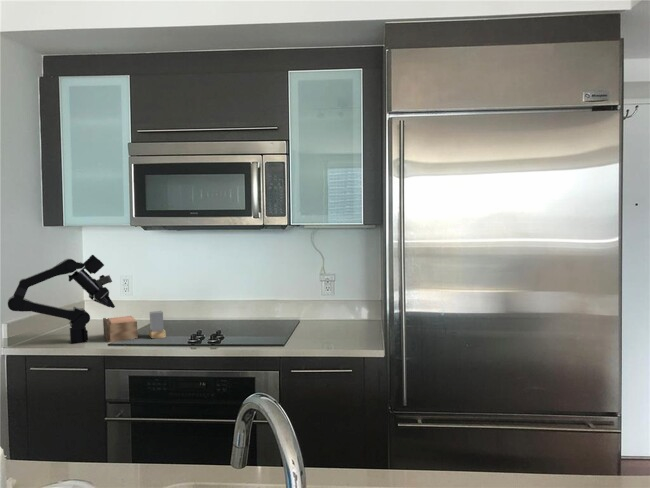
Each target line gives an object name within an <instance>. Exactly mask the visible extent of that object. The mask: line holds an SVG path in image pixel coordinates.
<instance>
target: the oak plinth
mask: <svg viewBox="0 0 650 488" xmlns="http://www.w3.org/2000/svg"><path fill="white" fill-rule="evenodd" d="M166 332H167V331H166V330H165V329H164V331H155V332H152V331H151V330H150V329H148V337H149V336H150V337H151V338H156V339H162V338H167V337H166V336H167V334H166ZM150 337H149V338H150ZM151 338H150V339H151Z"/></svg>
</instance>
